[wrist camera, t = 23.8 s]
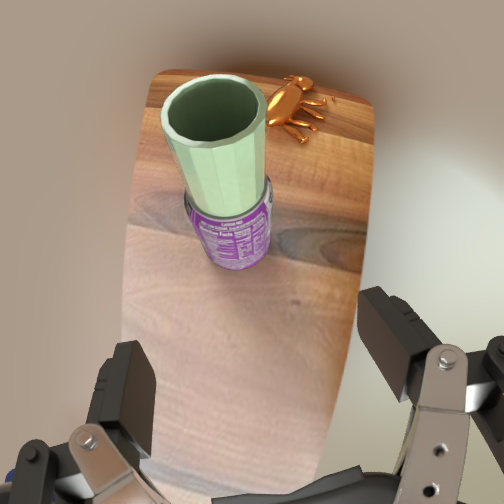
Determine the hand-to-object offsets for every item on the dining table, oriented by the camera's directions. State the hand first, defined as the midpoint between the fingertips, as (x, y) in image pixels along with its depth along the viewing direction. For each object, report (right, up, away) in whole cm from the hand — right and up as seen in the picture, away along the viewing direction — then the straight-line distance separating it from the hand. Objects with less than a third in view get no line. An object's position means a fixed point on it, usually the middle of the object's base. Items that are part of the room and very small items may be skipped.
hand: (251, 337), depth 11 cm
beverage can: (-2, +4, +24) cm, 24 cm away
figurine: (+11, +21, +29) cm, 37 cm away
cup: (-2, +8, +12) cm, 15 cm away
